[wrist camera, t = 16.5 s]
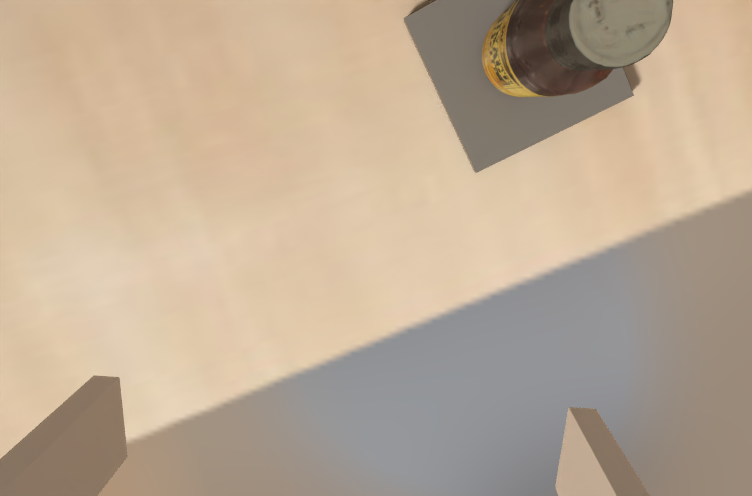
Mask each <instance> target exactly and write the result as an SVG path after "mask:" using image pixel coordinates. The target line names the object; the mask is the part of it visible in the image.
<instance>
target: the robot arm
mask: <svg viewBox="0 0 752 496" xmlns="http://www.w3.org/2000/svg"><path fill="white" fill-rule="evenodd" d="M126 458H127V447H126V437H125V428H124V418H123V408H122V399H121V389H120V379H119V377H107V376H93V377H92V378H91V379H90V380H88V381H87V382H86V383H85V384H84V385H83V386H82V387H81V388H79V389H78V390H77V391H76V392H75V393H74V394H73V395H72V396H71V397H69V398H68V399H67V400H66V401H65V402H64V403H63V404H62V405H60V406H59V407H58V408H57V409H56V410H55V411H54V412H53V413H51V414H50V415H49V416H48V417H47V418H46V419H45V420H44V421H42V422H41V423H40V424H39V425H38V426H37V427H36V428H35V429H34V430H32V431H31V432H30V433H29V434H28V435H27V436H26V437H25V438H23V439H22V440H21V441H20V442H19V443H18V444H17V445H16V446H14V447H13V448H12V449H11V450H10V451H9V452H8V453H7V454H5V455H4V456H3V457H2V458H1V459H0V496H97V495H98V494H99V492H100V491H101V490H102V489H103V488H104V486H105V485H106V484H107V483H108V481H109V480H110V479H111V477H112V476H113V475H114V473H115V472H116V471H117V470H118V468H119V467H120V466H121V464H122V463H123V462H124V460H125V459H126ZM555 488H556V490H557V493H558V496H650V495H649V493H648V492H647V490H646V488H645V487H644V485H643V484H642V482H641V481H640V479H639V477H638V476H637V474H636V473H635V471H634V469H633V468H632V466H631V464H630V463H629V461H628V460H627V458H626V456H625V455H624V453H623V452H622V450H621V448H620V447H619V445H618V444H617V442H616V440H615V439H614V437H613V436H612V434H611V433H610V431H609V429H608V428H607V426H606V424H605V423H604V421H603V420H602V418H601V417H600V415H599V414H598V412H597V410H596V409H588V408H573V407H569V409H568V415H567V421H566V427H565V432H564V439H563V444H562V451H561V456H560V462H559V468H558V474H557V480H556V486H555Z"/></svg>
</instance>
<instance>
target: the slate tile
mask: <svg viewBox="0 0 752 496" xmlns="http://www.w3.org/2000/svg"><path fill="white" fill-rule="evenodd" d="M516 1H517V0H436V1H434V2H432V3H430V4H429V5H427V6H425V7H423V8H421V9H420V10H418V11H416V12H414V13H413V14H411V15H409V16H407V17H405V18H404V23H405V25H406V27H407V29H408V31H409V33H410V35H411V38H412V40H413V42H414V44H415V46H416V48H417V50H418V52H419V55H420V57H421V59H422V61H423V63H424V65H425V67H426V70H427V72H428V74H429V76H430V78H431V80H432V82H433V85H434V87H435V89H436V91H437V93H438V95H439V97H440V99H441V102H442V104H443V106H444V108H445V110H446V112H447V114H448V117H449V119H450V121H451V123H452V125H453V127H454V129H455V131H456V134H457V136H458V138H459V140H460V142H461V144H462V146H463V149H464V151H465V153H466V155H467V157H468V159H469V161H470V164H471V166H472V168H473V170H474V172H475V173H477V172H479V171H481V170H483V169H485V168H487V167H489V166H491V165H493V164H495V163H497V162H499V161H501V160H503V159H505V158H508V157H510V156H512V155H514V154H516V153H518V152H520V151H522V150H524V149H526V148H528V147H530V146H532V145H534V144H536V143H538V142H540V141H542V140H544V139H546V138H548V137H550V136H552V135H554V134H556V133H558V132H560V131H562V130H564V129H567V128H569V127H571V126H573V125H575V124H577V123H579V122H581V121H583V120H585V119H587V118H589V117H591V116H593V115H595V114H597V113H599V112H601V111H603V110H605V109H607V108H609V107H611V106H613V105H615V104H617V103H619V102H621V101H624V100H626V99H628V98H630V97H632V96H634V94H633V92H632V89H631V87H630V84H629V82H628V79H627V77H626V74H625V72H624V69H623V67H622V68H617V69H613V70H612V72H611V73H610V74H609V75H608V77H607V78H606V79H604V80H602V81H601V82H600V83H598V84H596V85H594V86H593V87H591V88H589V89H587V90H584V91H582V92H578V93H575V94H567V95H562V96H555V97H516V96H511V95H508V94H505V93H503V92H501V91H500V90H498V89H497V88H496V87H495V86H494V85H493V84H492V83H491V82H490V81H489V80H488V78H487V76H486V73H485V71H484V68H483V63H482V48H483V43H484V40H485V37H486V34H487V32H488V30H489V29H490V27H491V26H492V24H493V23H494V22H495V21H496V19H497V18H498V17H499V16H500V15H501V14H503V13H504V12H505V11H506V10H507V9H508V8H509V7H510V6H511V5H512V4H513V3H514V2H516Z"/></svg>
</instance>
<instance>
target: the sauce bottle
mask: <svg viewBox="0 0 752 496" xmlns="http://www.w3.org/2000/svg"><path fill="white" fill-rule="evenodd" d="M672 7H673V0H517V1H516V2H514V3H513V4H512V5H511V6H510V7H509V8H508V9H507V10H506V11H505V12H504V13H503V14H501V15H500V16H499V17H498V18H497V19H496V21H495V22H494V23H493V24H492V26H491V27H490V29H489V30H488V32H487V34H486V37H485V40H484V43H483V48H482V63H483V68H484V71H485V73H486V76H487V78H488V80H489V81H490V82H491V83H492V84H493V85H494V86H495V87H496V88H497V89H498V90H500V91H501V92H503V93H505V94H508V95H511V96H516V97H555V96H562V95H567V94H575V93H578V92H582V91H584V90H587V89H589V88H591V87H593V86H594V85H596V84H598V83H600V82H601V81H602V80H604V79H606V78H607V77H608V75H609V74H610V73H611V72H612V70H613V69H617V68H622V67H625V66H628V65H631V64H634V63H636V62H638V61H640V60H642V59H643V58H645V57H646V56H648V55H650V53H651V52H652V51H653V50H654V49H655V48H656V47H657V46H658V45H659V43H660V42H661V41H662V39H663V38H664V36H665V34H666V32H667V30H668V28H669V25H670V21H671V15H672Z"/></svg>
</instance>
